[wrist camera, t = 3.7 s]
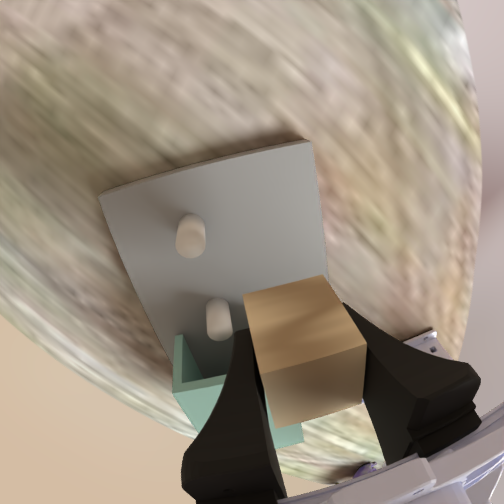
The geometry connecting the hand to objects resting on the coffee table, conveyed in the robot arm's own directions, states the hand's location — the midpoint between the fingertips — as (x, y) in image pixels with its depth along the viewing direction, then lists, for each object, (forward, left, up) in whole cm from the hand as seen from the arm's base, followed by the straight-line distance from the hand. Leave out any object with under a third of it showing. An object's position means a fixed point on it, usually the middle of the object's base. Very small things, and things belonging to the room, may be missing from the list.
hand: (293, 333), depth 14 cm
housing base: (+2, +4, -9) cm, 10 cm away
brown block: (0, 0, -1) cm, 1 cm away
